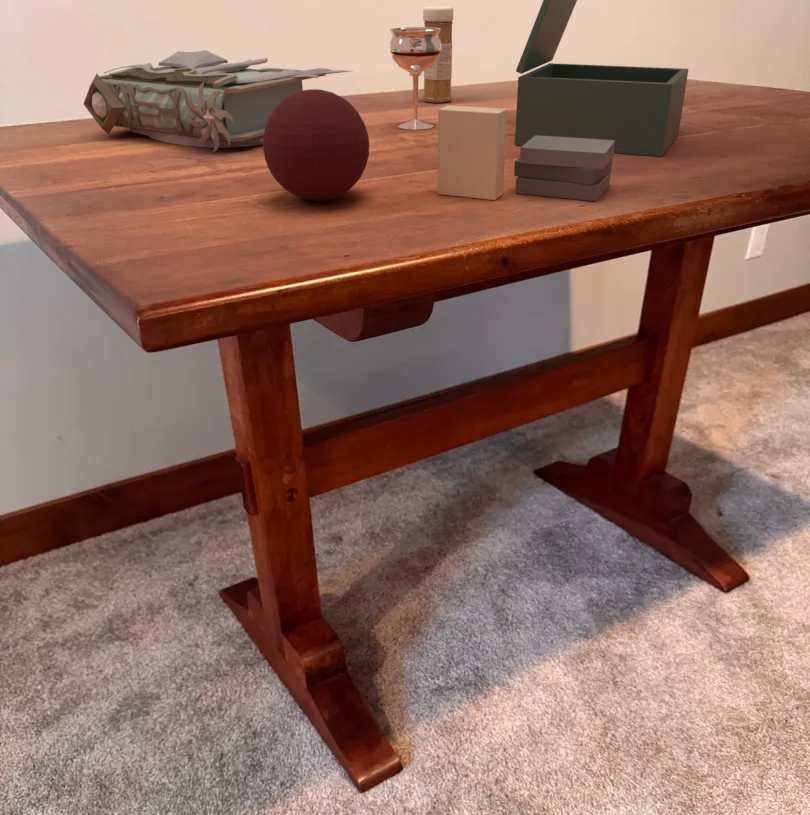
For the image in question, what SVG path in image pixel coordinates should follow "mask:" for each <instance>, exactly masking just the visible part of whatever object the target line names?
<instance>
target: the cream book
mask: <svg viewBox="0 0 810 815" xmlns="http://www.w3.org/2000/svg"><path fill="white" fill-rule="evenodd" d="M437 114H438V115H437V117H438V118H437V120H438V121H437V127H438V129H437V195H442V196H452V197H461V198H468V199H469V198H471V199H479V200H489V201H490V200H491V201H496V200H497V199H499V198H500V197H501V196H503V194H504V179H505V178H504V176H505V157H506V156H505V155H506V137H507V136H506V135H507V118H508V117H507V115H508V109H507V108H502V107H501V108H499V107H482V106H468V105H467V106H466V105H451V104H448V105H445V106H443V107H440V108H438V109H437Z"/></svg>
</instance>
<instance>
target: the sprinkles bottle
mask: <svg viewBox="0 0 810 815" xmlns="http://www.w3.org/2000/svg"><path fill="white" fill-rule="evenodd" d="M422 15H423V16H422V20H423V24H424V27H432V28H440V29H441V30H440V32H439V34H438V37H439V39H440V41H441V52H440V55H439V58H438V59H437V60H436V61H435V63H434V64H433V65H432V66H431V67H430V68H428V69H426V70H425V71H423V88H424V89H423V97H422V100H423V101H424V102H426V103H432V104H438V103H449V102H450V101H452V95H451V94H452V93H451V92H452V76H453V75H452V74H453V73H452V72H453V21H454V7H452V6H449V5H433V6H432V5H430V6H425V7H423V10H422Z"/></svg>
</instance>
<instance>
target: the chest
mask: <svg viewBox="0 0 810 815" xmlns="http://www.w3.org/2000/svg"><path fill="white" fill-rule="evenodd" d="M688 76H689V68H678V67H677V68H676V67H652V66H651V67H650V66H629V65H628V66H626V65H603V64H602V65H600V64H578V63H577V64H575V63H552V62H551V63H550V62H548V63H546V64H544V65H542V66H539V67H537V68H535V69H532V70H530V71H528V72H526V73H523V74H521V75H520V76H518V77H517V94H516V111H515V130H514V146H520V147H522V146H523V145H524V144H526V143H527V142H528V141H529V140H530V139H532V138H533V137H534V136H535V135H539V136H555V137H571V138H587V139H603V140H615V146H614V154H620V155H621V154H623V155H633V156H636V155H637V156H647V157H648V156H649V157H663V155H664V154H665V153H666V152H667V150H668V149H669V148H670V146H671V145H672V144H673V142H674V141H675V140H676V139H677V138H678V135H679V134H680V127H681V122H682V116H683V114H682V113H683V110H684V109H683V107H684V100H685V94H686V88H687V83H688Z"/></svg>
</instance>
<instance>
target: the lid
mask: <svg viewBox="0 0 810 815" xmlns="http://www.w3.org/2000/svg"><path fill="white" fill-rule="evenodd" d="M577 2H578V0H542V2H541V5H540V8H539V9H538V10H539V11H538V13H537V15H536V18H535V21H534V23H533V26H532V27H531V28H532V29H531V31H530V33H529V35H528V39H527V41H526V43H525V45H524V46H525V47H524V49H523V51H522V54H521V56H520V59H519V62H518V64H517V66H516V69H515V72H516V73H519V74H520V75H523V74H526V73H528V72H530V71H532V70H535V69H537V68H539V67H542V66H544V65H546V64H549V63H550V62H552V61H553V59H554V58H555V55H556V53H557V50H558V48H559V45H560V43H561V41H562V38H563V35H564V34H565V31H566V28H567V26H568V24H569V21H570V19H571V16H572V14H573V11H574V9H575V7H576V4H577Z"/></svg>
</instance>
